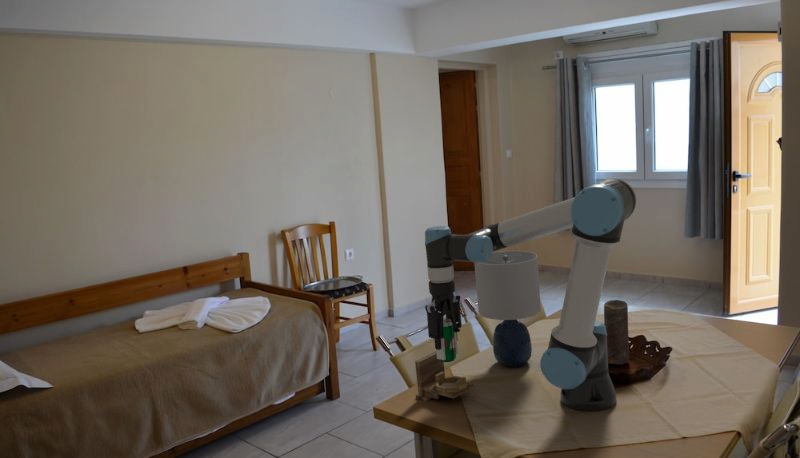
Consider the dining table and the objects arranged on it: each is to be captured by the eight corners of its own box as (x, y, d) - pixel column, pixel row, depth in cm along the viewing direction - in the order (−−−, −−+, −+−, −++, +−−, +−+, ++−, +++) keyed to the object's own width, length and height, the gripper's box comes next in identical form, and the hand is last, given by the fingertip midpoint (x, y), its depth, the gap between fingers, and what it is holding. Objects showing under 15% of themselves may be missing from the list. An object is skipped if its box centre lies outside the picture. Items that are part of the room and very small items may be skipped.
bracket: (476, 395, 194) (472, 357, 192) (453, 409, 186) (449, 369, 185) (439, 385, 204) (435, 349, 202) (415, 398, 196) (412, 360, 195)
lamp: (470, 366, 217) (461, 259, 212) (508, 348, 231) (500, 247, 225) (519, 379, 202) (510, 265, 197) (556, 359, 216) (549, 251, 210)
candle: (632, 360, 209) (629, 300, 206) (627, 368, 203) (624, 307, 199) (608, 357, 213) (605, 299, 210) (602, 365, 207) (599, 305, 204)
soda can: (455, 362, 189) (452, 323, 187) (438, 362, 190) (434, 323, 188) (457, 356, 194) (454, 317, 192) (440, 356, 195) (437, 318, 193)
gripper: (450, 271, 197) (456, 344, 201) (410, 285, 184) (417, 363, 188) (470, 273, 192) (476, 348, 195) (430, 288, 179) (437, 368, 183)
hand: (447, 355), depth 192 cm, fingers closed on soda can, 5 cm apart
